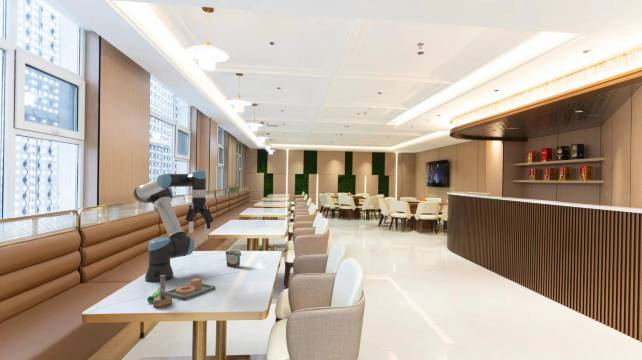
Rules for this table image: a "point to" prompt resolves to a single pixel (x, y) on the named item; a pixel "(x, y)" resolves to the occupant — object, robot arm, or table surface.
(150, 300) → the candy
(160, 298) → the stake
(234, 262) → the food container
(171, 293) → the tray
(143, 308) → the table surface
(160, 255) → the robot arm
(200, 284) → the ring
